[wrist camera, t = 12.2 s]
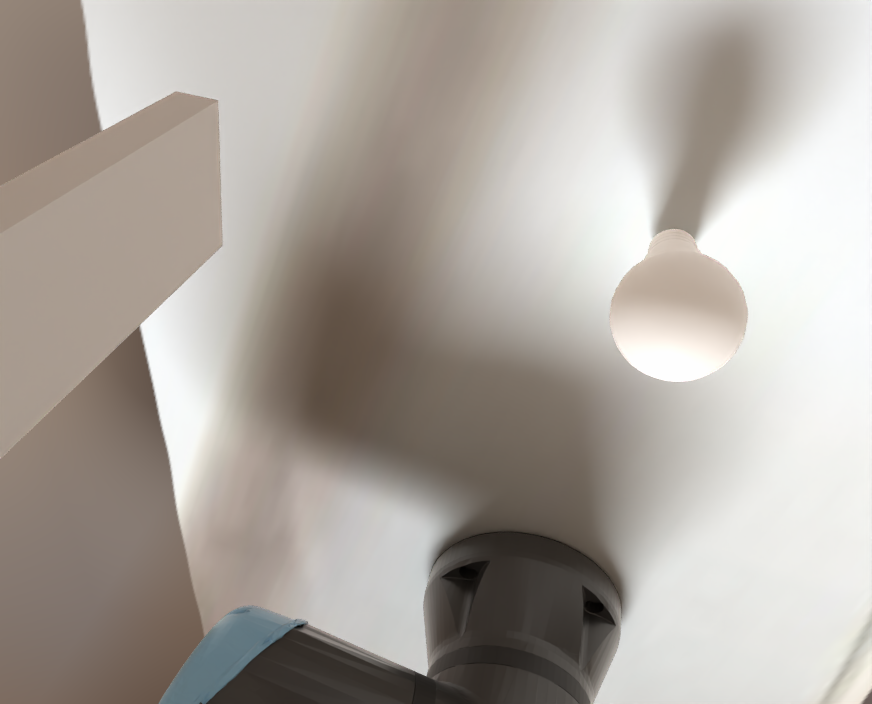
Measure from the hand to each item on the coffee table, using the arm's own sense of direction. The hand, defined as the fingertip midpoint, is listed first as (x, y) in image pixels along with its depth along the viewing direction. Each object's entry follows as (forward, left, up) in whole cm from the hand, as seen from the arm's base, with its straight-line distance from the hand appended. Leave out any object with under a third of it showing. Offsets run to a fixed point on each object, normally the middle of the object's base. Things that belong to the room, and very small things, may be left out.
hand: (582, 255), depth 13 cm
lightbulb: (-12, -6, -29) cm, 32 cm away
